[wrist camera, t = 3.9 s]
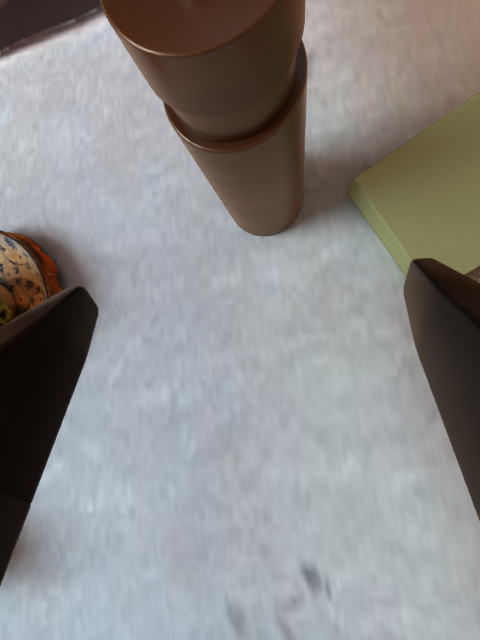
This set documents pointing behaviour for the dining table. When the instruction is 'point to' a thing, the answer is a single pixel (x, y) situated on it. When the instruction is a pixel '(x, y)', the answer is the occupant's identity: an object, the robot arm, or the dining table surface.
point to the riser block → (429, 193)
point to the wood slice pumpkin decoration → (24, 276)
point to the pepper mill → (229, 94)
